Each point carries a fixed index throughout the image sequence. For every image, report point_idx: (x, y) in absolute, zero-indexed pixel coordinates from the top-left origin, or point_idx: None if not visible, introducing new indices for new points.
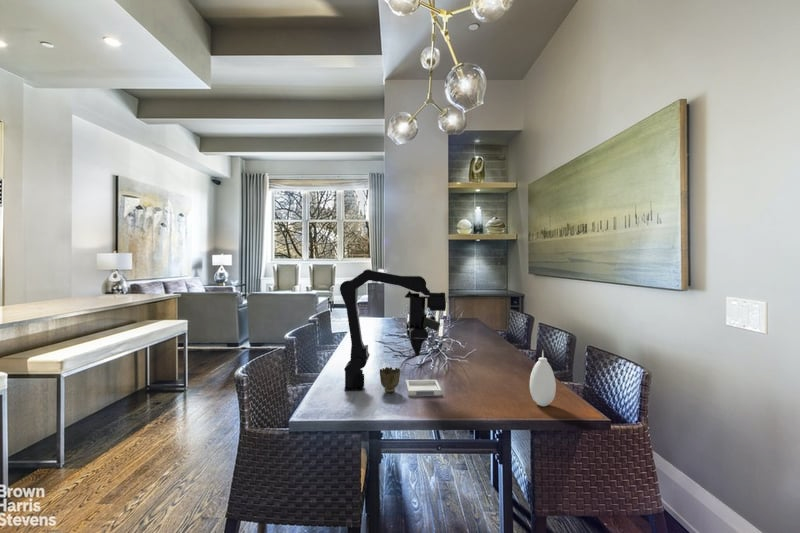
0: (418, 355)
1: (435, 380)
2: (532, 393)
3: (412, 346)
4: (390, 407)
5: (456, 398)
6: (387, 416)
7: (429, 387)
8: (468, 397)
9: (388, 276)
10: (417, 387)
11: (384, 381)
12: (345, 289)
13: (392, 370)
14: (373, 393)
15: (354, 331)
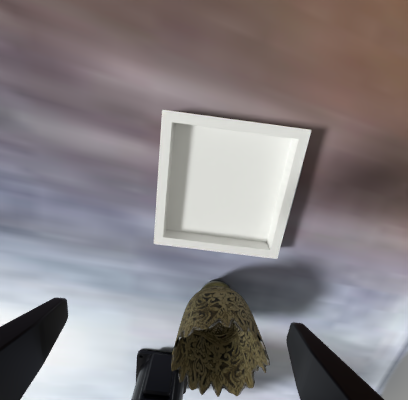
0: (304, 328)
1: (173, 118)
2: None
3: (47, 354)
4: (340, 308)
5: (348, 73)
6: (396, 322)
7: (210, 157)
8: (357, 7)
9: None
10: (202, 203)
11: (244, 347)
12: None
13: (180, 336)
14: None
15: None
